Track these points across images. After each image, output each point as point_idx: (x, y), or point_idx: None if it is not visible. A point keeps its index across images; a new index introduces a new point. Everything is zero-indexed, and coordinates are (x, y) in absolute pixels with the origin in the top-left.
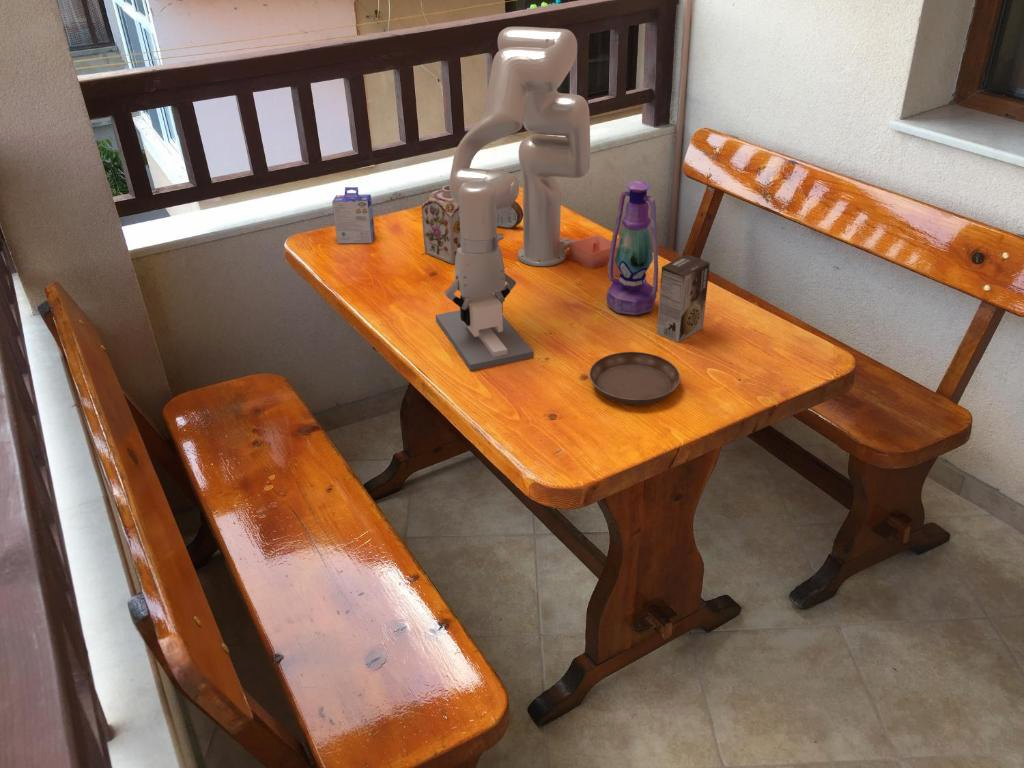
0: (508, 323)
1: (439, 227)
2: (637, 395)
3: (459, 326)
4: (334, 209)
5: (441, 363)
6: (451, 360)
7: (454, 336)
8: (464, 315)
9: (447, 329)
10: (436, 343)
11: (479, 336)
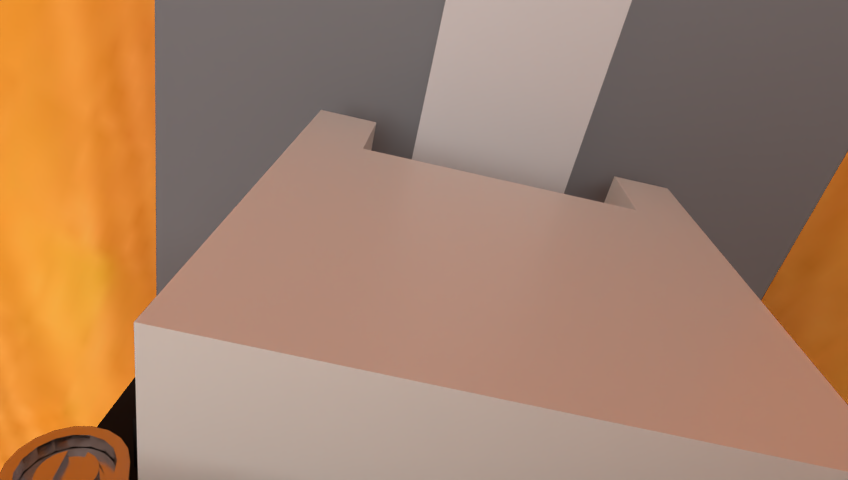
0: (753, 285)
1: None
2: None
3: (317, 47)
4: None
5: (32, 356)
6: (107, 362)
7: (190, 197)
8: None
9: (172, 29)
10: (60, 91)
11: None
